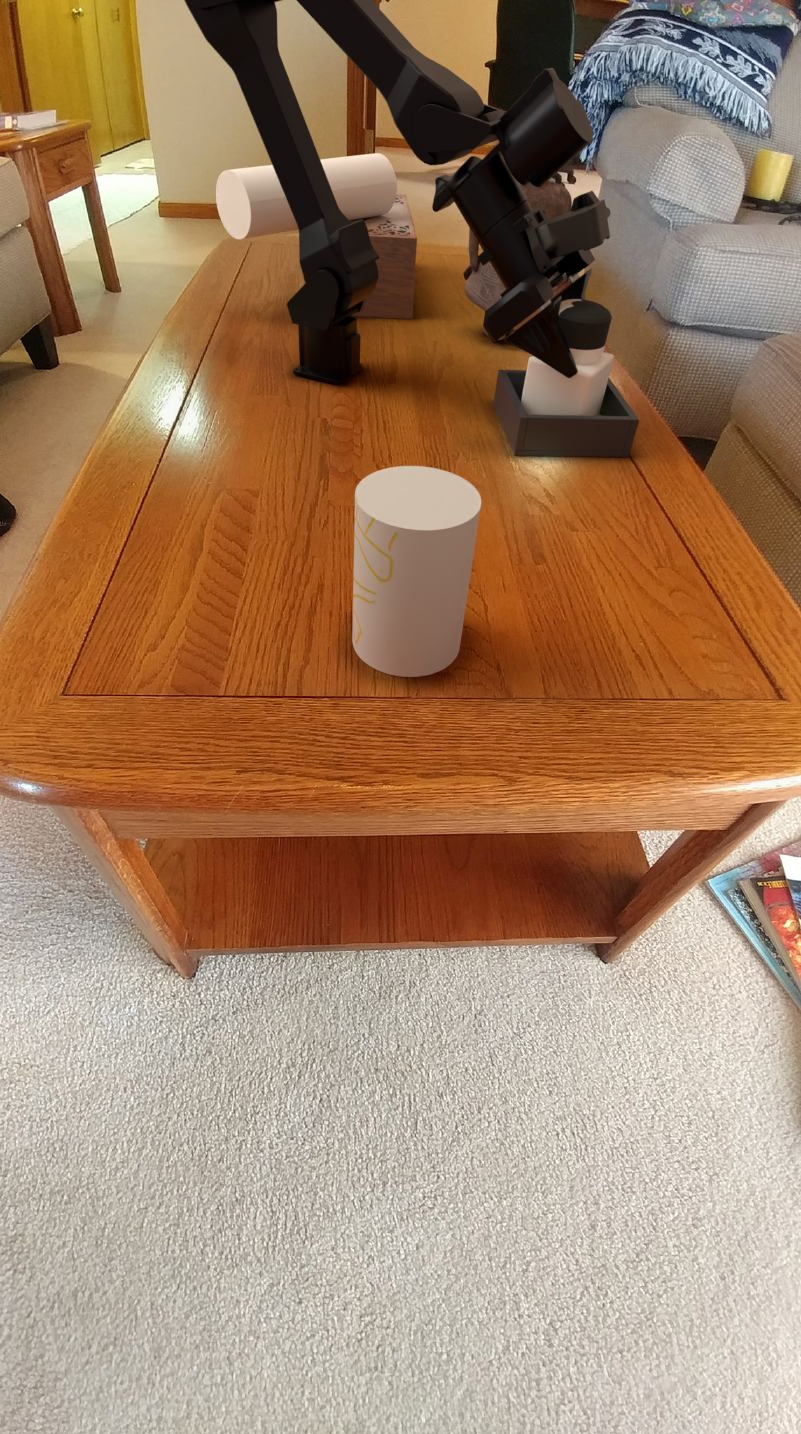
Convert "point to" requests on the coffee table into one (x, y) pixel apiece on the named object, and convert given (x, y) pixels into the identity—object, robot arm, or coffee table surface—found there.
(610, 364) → the medicine bottle
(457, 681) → the coffee table surface
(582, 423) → the holder
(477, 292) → the clay figurine
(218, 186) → the cylindrical container
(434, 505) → the yellow-doodled white cylinder
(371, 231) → the tissue box cover
